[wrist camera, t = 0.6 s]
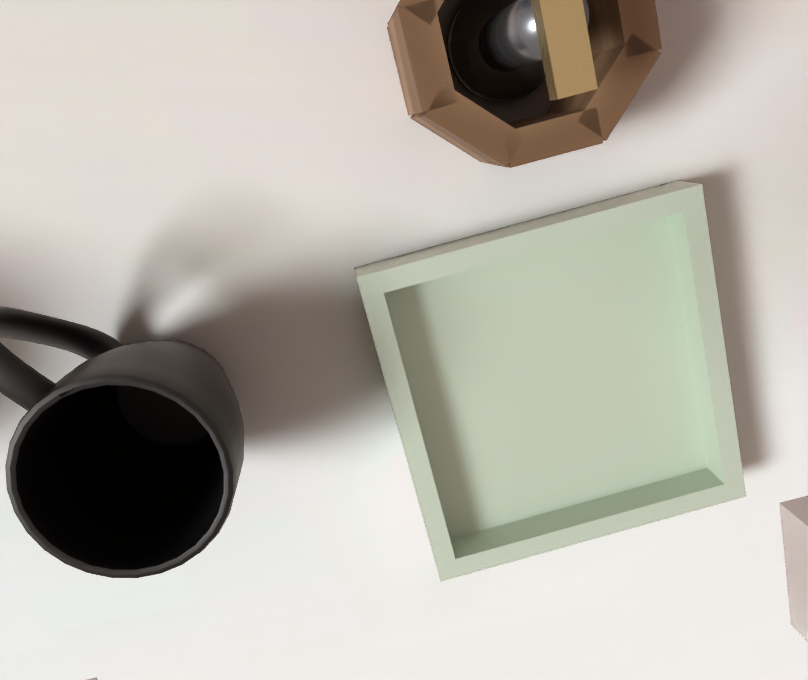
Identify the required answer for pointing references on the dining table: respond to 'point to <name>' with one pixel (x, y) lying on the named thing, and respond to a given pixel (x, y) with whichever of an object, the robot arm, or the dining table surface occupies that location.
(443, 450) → the tray
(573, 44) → the door handle
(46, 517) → the mug
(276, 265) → the dining table surface
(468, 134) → the ring
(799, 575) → the robot arm
